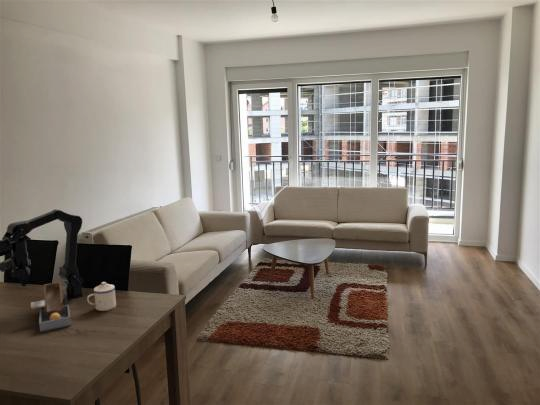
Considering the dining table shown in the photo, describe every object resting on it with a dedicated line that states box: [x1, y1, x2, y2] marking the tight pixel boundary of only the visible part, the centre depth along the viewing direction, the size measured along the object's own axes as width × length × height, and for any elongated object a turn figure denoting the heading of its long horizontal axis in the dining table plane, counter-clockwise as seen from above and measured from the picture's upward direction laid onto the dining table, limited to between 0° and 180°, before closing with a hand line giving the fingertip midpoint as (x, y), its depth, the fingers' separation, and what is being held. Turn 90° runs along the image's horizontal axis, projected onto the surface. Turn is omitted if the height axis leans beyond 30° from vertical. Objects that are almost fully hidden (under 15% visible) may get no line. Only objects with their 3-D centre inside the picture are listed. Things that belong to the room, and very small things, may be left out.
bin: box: [38, 304, 72, 333], centre depth 177 cm, size 11×14×4 cm
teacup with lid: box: [86, 281, 117, 312], centre depth 189 cm, size 12×9×12 cm
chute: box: [30, 281, 65, 313], centre depth 185 cm, size 12×18×6 cm
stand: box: [39, 293, 68, 310], centre depth 187 cm, size 11×5×7 cm, turn 117°
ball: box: [50, 313, 60, 320], centre depth 176 cm, size 4×4×4 cm
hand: (24, 286), depth 186 cm, fingers closed
